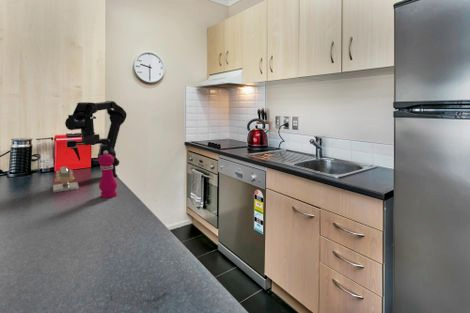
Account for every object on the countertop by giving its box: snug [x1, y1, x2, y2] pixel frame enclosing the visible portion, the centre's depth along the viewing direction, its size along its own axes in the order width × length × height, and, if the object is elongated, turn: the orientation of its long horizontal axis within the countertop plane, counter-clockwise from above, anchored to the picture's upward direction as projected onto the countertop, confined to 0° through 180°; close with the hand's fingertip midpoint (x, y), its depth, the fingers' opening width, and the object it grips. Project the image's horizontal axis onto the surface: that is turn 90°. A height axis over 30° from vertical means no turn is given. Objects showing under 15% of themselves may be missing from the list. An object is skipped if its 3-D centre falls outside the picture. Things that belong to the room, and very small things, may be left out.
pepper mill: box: [97, 150, 118, 199], centre depth 119 cm, size 7×7×20 cm
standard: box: [52, 166, 80, 193], centre depth 131 cm, size 10×10×10 cm
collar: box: [55, 169, 75, 181], centre depth 131 cm, size 7×7×3 cm
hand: (90, 159), depth 138 cm, fingers open, 9 cm apart
